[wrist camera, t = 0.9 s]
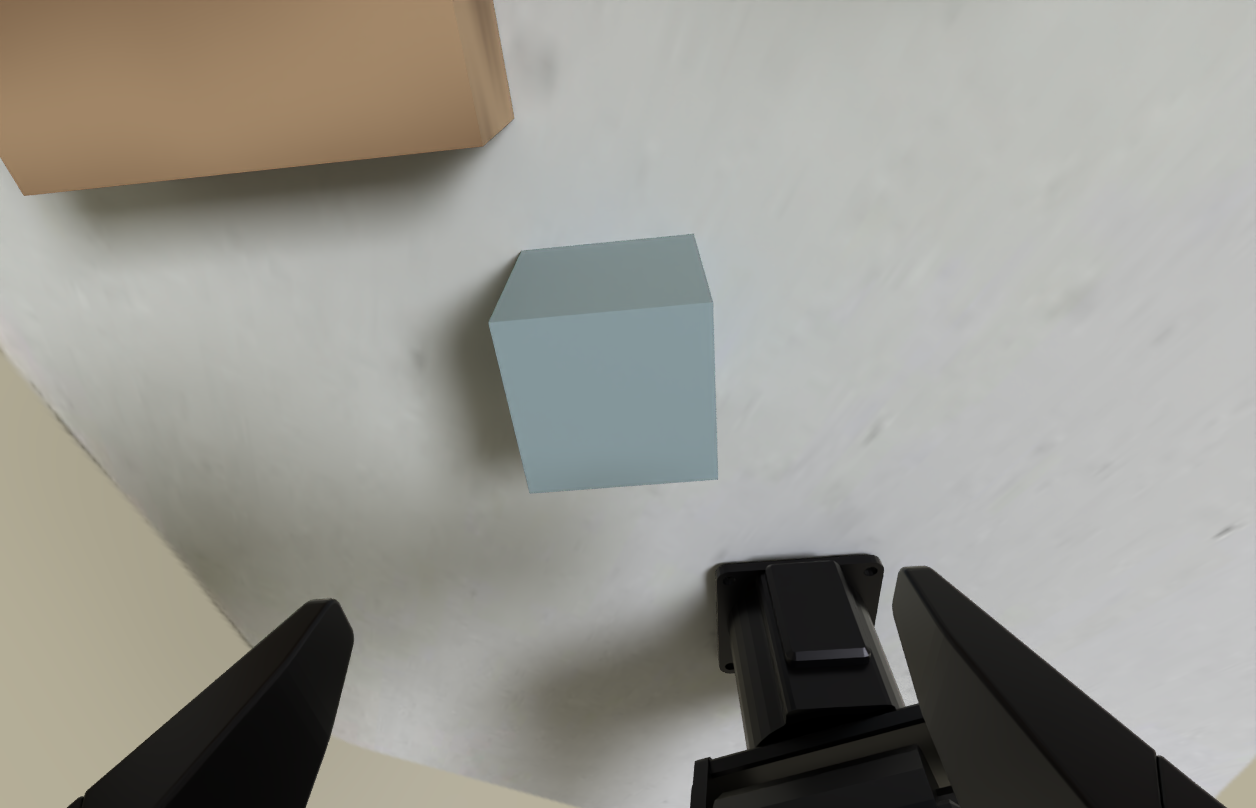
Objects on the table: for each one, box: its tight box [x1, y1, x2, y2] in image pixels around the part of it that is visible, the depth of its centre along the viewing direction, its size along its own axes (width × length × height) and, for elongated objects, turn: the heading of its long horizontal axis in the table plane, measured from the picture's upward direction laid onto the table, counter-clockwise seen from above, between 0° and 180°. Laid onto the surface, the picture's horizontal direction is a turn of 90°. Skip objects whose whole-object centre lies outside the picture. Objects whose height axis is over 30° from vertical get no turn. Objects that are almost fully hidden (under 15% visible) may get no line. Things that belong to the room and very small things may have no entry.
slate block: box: [488, 234, 718, 493], centre depth 17 cm, size 5×5×5 cm
